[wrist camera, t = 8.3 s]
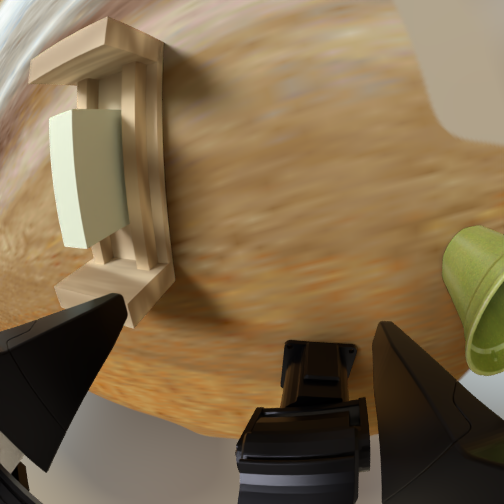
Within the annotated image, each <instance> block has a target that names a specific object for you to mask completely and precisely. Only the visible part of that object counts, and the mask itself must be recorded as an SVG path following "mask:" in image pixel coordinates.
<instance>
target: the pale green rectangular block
mask: <svg viewBox="0 0 504 504" xmlns="http://www.w3.org/2000/svg"><path fill="white" fill-rule="evenodd" d="M49 137H50V155H51V167H52V176H53V185H54V192H55V199H56V206H57V212H58V217H59V222H60V228H61V232H62V237H63V242H64V246H65V247H74V248H84V249H88V248H89V247H91V246H93V245H94V244H96V243H98V242H99V241H101V240H103V239H104V238H106V237H108V236H109V235H111V234H113V233H114V232H116V231H118V230H120V229H121V228H123V227H125V226H127V225H128V224H130V221H129V213H128V205H127V197H126V187H125V176H124V163H123V147H122V117H121V110H112V109H71V110H69V111H66V112H63V113H61V114H58V115H56V116H54V117H51V118H49Z"/></svg>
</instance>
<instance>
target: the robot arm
mask: <svg viewBox="0 0 504 504" xmlns="http://www.w3.org/2000/svg"><path fill="white" fill-rule="evenodd" d="M127 317H128V312H127V308H126V304H125V301H124V297H123V296H122V295H121V294H118V293H110V294H107V295H104V296H102V297H99V298H96V299H93V300H90V301H88V302H85V303H82V304H79V305H76V306H74V307H71V308H68V309H65V310H62V311H60V312H57V313H54V314H51V315H48V316H46V317H43V318H40V319H38V320H34V321H32V322H29V323H26V324H23V325H20V326H17V327H14V328H11V329H7V330H4V331H1V332H0V504H42V503H41V502H40V501H39V500H38V499H37V498H36V497H34V496H33V495H32V494H31V493H30V492H29V485H28V479H27V473H26V466H25V465H24V464H23V463H22V462H21V461H20V460H21V459H22V458H23V456H24V455H26V456H27V457H28V458H29V459H30V460H31V461H32V462H33V463H35V464H36V465H37V466H38V467H40V468H41V469H42V470H43V471H45V472H46V473H47V471H48V470H49V468H50V466H51V463H52V461H53V459H54V457H55V455H56V453H57V450H58V448H59V446H60V444H61V442H62V440H63V438H64V436H65V434H66V431H67V429H68V428H69V426H70V424H71V422H72V420H73V418H74V416H75V414H76V412H77V410H78V408H79V406H80V405H81V403H82V401H83V399H84V397H85V395H86V394H87V392H88V390H89V388H90V386H91V385H92V383H93V381H94V379H95V378H96V376H97V374H98V372H99V371H100V369H101V367H102V366H103V364H104V362H105V360H106V359H107V357H108V355H109V354H110V352H111V350H112V348H113V346H114V344H115V342H116V340H117V338H118V336H119V334H120V332H121V330H122V328H123V326H124V324H125V322H126V320H127ZM288 345H292V346H288ZM351 349H353V350H351ZM350 350H351V351H350ZM372 352H373V382H374V395H375V403H376V411H377V420H378V430H379V442H380V456H381V476H382V504H504V420H503V419H502V418H500V417H499V416H498V415H496V414H495V413H494V412H493V411H492V410H490V409H489V408H488V407H486V406H485V405H484V404H483V403H482V402H481V401H479V400H478V399H477V398H476V397H475V396H473V395H472V394H471V393H470V392H469V391H468V390H467V389H466V388H465V387H463V385H461V384H460V383H459V382H458V381H457V382H456V379H455V378H454V377H453V376H452V375H451V374H450V373H449V372H447V371H446V370H445V369H444V368H443V367H442V366H441V365H440V364H439V363H438V362H437V361H435V360H434V359H433V358H432V357H431V356H430V355H429V354H428V353H427V352H426V351H424V350H423V349H422V348H421V347H420V346H419V345H418V344H417V343H415V342H414V341H413V340H412V339H411V338H410V337H409V336H408V335H406V334H405V333H404V332H403V331H402V330H401V329H400V328H398V327H397V326H396V325H395V324H394V323H393V322H391V321H380V322H379V324H378V326H377V329H376V333H375V336H374V340H373V344H372ZM356 353H357V347H356V346H355V345H353V344H335V343H319V342H306V341H295V340H288V341H286V342H285V346H284V357H283V367H282V376H281V387H282V388H283V394H282V400H281V406H280V408H264V407H257V408H256V410H255V411H254V413H253V415H252V417H251V419H250V421H249V423H248V424H247V426H246V428H245V430H244V432H243V433H242V435H241V437H240V439H239V441H238V443H237V445H236V448H237V450H236V452H235V455H236V461H237V467H238V470H239V472H240V491H239V497H238V504H355V502H356V501H357V499H358V476H359V472H366V471H370V434H369V423H368V414H367V406H366V398H365V397H363V398H359V399H358V400H351V401H349V394H348V377H349V374H350V371H351V368H352V365H353V362H354V359H355V356H356Z"/></svg>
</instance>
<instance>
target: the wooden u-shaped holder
mask: <svg viewBox="0 0 504 504" xmlns="http://www.w3.org/2000/svg"><path fill="white" fill-rule="evenodd" d="M163 47H164V42H162V41H160V40H158V39H156V38H154V37H152V36H150V35H148V34H146V33H144V32H142V31H140V30H138V29H135V28H133V27H131V26H129V25H127V24H124V23H122V22H120V21H117V20H115V19H113V18H110V17H106V18H104V19H101V20H99V21H97V22H95V23H93V24H91V25H89V26H87V27H85V28H83V29H81V30H79V31H78V32H76V33H74V34H72V35H70V36H68V37H67V38H65V39H63V40H62V41H60V42H58V43H57V44H55V45H53V46H52V47H50V48H49V49H47V50H46V51H44V52H43V53H41V54H40V55H38V56H37V57H35V58H34V59H32V60H31V63H30V72H29V83H28V84H57V85H75V86H77V109H112V110H121V117H122V147H123V163H124V176H125V187H126V197H127V205H128V213H129V221H130V224H128V225H127V226H125V227H123V228H121V229H120V230H118V231H116V232H114V233H113V234H111V235H109V236H108V237H106V238H104V239H103V240H101V241H99V242H98V243H96V244H94V245H93V246H91V248H92V252H93V257H94V258H93V259H92V260H91V261H89V262H88V263H86V264H85V265H83V266H82V267H80V268H79V269H77V270H76V271H75V272H73V273H72V274H70V275H69V276H68V277H66V278H65V279H63V280H62V281H61V282H59V283H58V284H57V285H55V286H54V288H55V291H56V294H57V297H58V300H59V302H60V305H61V307H62V308H65V309H68V308H71V307H74V306H76V305H79V304H82V303H85V302H88V301H90V300H93V299H96V298H99V297H102V296H104V295H107V294H110V293H118V294H121V295H122V296H123V297H124V301H125V304H126V308H127V312H128V317H127V320H126V322H125V324H124V326H126V327H130V328H135V327H136V326H137V324H138V323H139V322H140V321H141V320H142V318H143V317H144V316H145V315H146V314H147V313H148V311H149V310H150V309H151V308H152V307H153V306H154V304H155V303H156V302H157V301H158V300H159V299H160V298H161V296H162V295H163V294H164V293H165V292H166V291H167V290H168V288H169V287H170V286H171V285H172V284H173V283H174V282H175V274H174V266H173V259H172V251H171V242H170V234H169V224H168V214H167V203H166V190H165V176H164V158H163V132H162V71H163Z"/></svg>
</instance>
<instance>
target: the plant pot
mask: <svg viewBox="0 0 504 504" xmlns="http://www.w3.org/2000/svg"><path fill="white" fill-rule="evenodd" d="M442 278H443V281H444V283H445V285H446V287H447V289H448V292H449V294H450V296H451V298H452V300H453V303H454V305H455V307H456V310H457V312H458V314H459V317H460V319H461V322H462V325H463V327H464V336H465V341H466V344H465V358H466V361H467V364H468V366H469V368H470V369H471V370H472V371H473V372H474V373H476V374H478V375H484V376H490V375H495V374H498V373H501V372H503V371H504V234H501V233H499V232H496V231H494V230H491V229H489V228H486V227H484V226H481V225H477V226H472V227H468V228H464V229H462V230H461V231H460V232H459V233H457V234H456V235H455V236H454V238H453V239H452V240H451V241H450V243H449V245H448V246H447V248H446V250H445V253H444V256H443V266H442Z"/></svg>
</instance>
